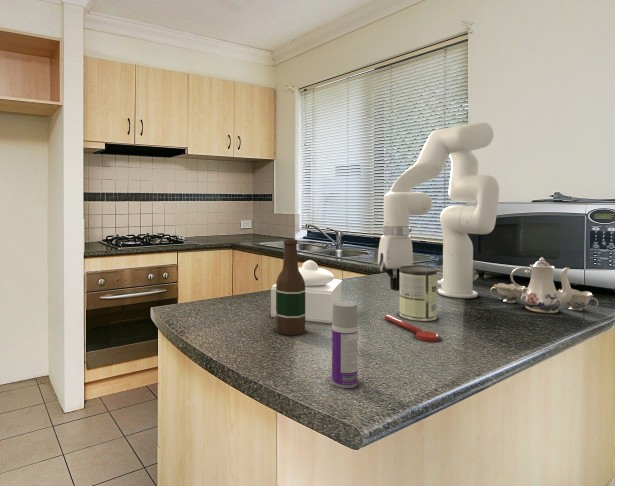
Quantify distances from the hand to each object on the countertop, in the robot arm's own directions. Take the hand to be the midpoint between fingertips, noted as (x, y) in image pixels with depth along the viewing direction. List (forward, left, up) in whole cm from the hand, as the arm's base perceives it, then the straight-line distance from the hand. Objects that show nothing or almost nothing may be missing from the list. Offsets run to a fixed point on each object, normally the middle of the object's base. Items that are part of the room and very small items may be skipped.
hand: (395, 289), depth 137 cm
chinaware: (+12, +44, -6) cm, 46 cm away
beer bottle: (+13, -41, -6) cm, 43 cm away
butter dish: (-2, -29, -6) cm, 30 cm away
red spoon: (+20, -10, -6) cm, 23 cm away
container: (+45, -43, -6) cm, 63 cm away
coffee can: (+10, 0, -6) cm, 12 cm away
